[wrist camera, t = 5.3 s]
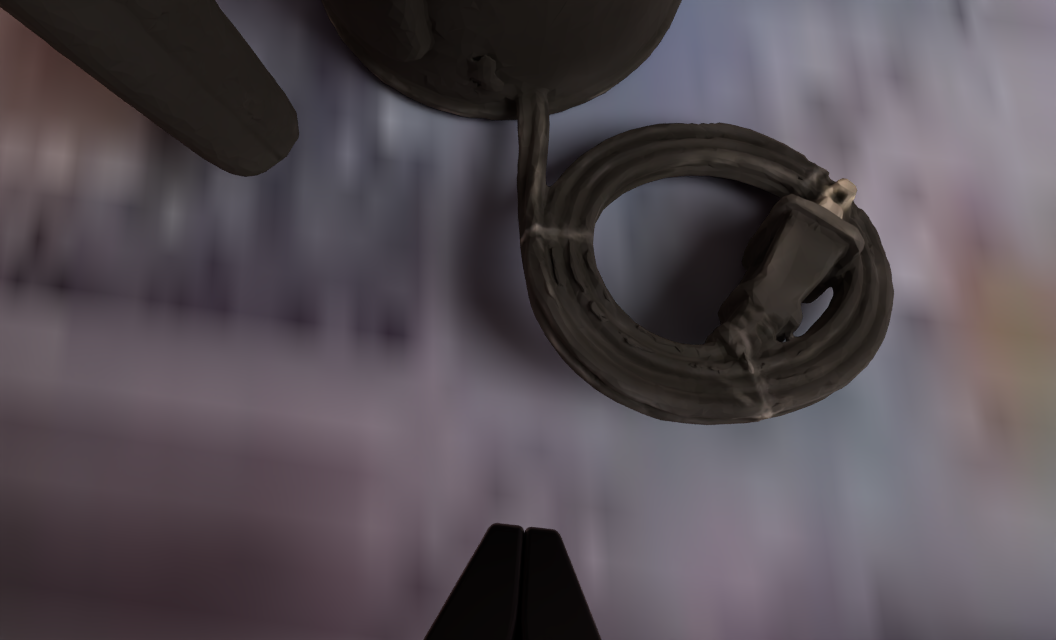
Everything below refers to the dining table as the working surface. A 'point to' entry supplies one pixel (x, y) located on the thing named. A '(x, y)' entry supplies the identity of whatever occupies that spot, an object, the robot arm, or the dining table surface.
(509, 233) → the dining table surface
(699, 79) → the dining table surface
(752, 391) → the milk frother
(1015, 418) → the dining table surface
